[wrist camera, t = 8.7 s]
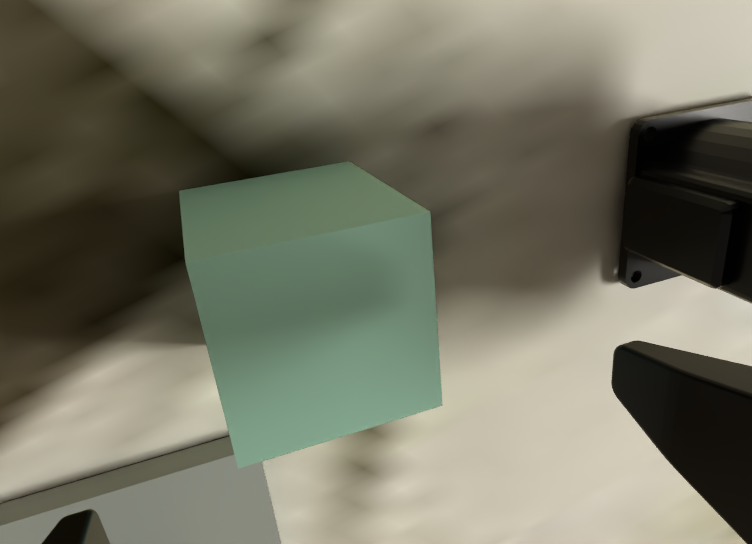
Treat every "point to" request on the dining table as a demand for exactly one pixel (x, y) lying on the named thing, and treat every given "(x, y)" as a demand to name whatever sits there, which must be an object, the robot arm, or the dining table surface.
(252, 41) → the dining table surface
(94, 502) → the baseplate
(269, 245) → the teal block
